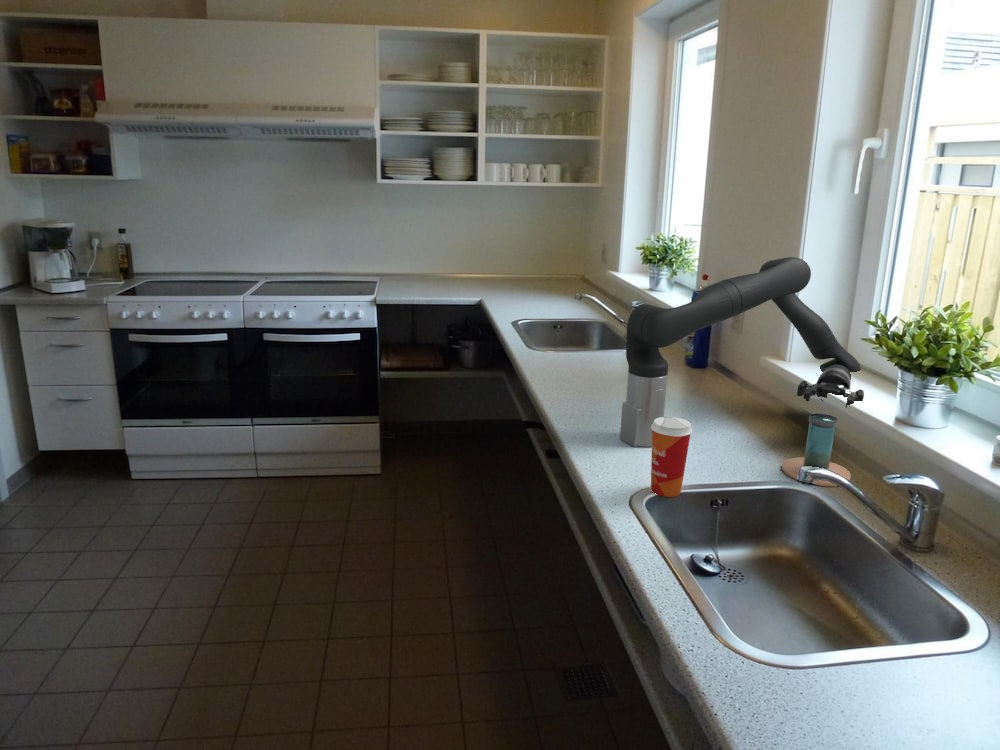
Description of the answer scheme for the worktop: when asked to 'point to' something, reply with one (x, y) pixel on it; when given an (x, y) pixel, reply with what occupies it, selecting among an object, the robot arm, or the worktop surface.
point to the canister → (819, 440)
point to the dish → (794, 464)
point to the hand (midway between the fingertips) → (827, 400)
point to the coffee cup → (669, 455)
